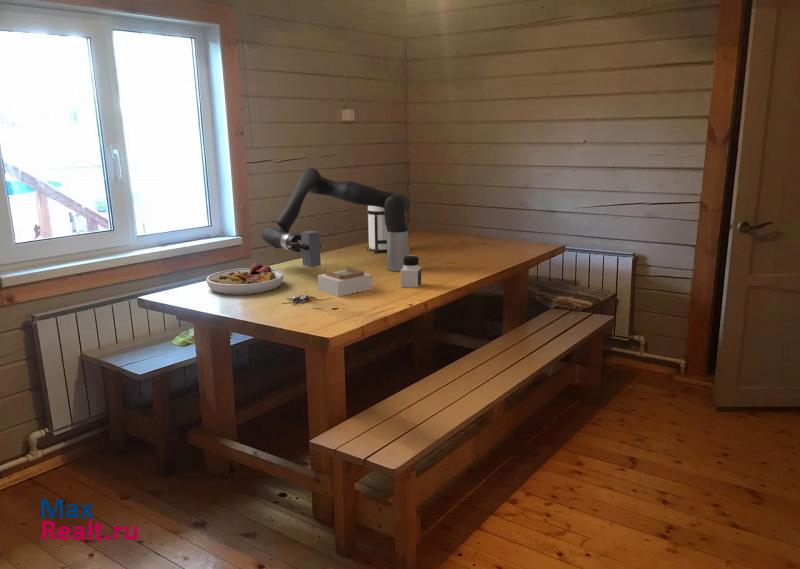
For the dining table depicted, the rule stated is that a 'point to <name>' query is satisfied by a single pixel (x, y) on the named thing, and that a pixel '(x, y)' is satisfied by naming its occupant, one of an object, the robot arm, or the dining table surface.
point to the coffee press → (377, 228)
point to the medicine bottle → (411, 272)
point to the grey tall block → (311, 248)
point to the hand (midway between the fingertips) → (314, 247)
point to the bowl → (245, 280)
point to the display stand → (344, 282)
